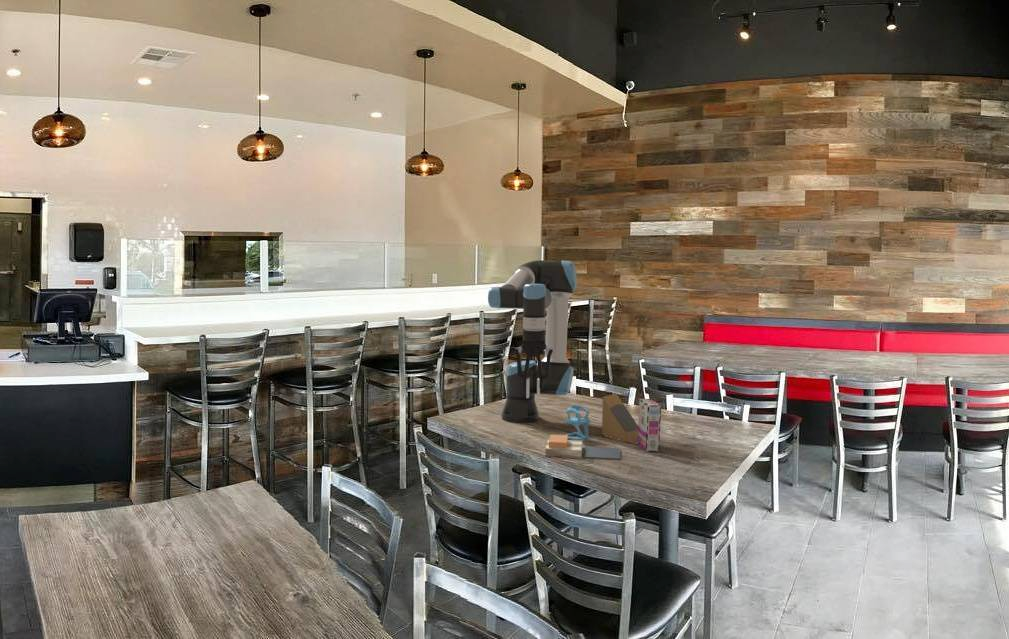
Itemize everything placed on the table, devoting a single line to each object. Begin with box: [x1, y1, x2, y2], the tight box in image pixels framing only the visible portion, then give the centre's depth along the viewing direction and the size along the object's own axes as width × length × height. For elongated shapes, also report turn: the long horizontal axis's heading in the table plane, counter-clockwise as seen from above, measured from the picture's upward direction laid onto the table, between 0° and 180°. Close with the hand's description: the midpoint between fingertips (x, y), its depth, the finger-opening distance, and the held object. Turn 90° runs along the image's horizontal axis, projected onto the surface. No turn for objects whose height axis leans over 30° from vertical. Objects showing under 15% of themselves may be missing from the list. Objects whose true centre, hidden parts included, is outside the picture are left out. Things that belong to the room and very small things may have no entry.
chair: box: [564, 405, 591, 442], centre depth 253 cm, size 8×8×12 cm
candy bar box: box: [637, 398, 662, 453], centre depth 242 cm, size 11×5×16 cm, turn 5°
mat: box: [583, 445, 622, 460], centre depth 236 cm, size 12×12×1 cm
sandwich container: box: [601, 393, 638, 444], centre depth 255 cm, size 9×15×15 cm, turn 44°
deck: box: [544, 438, 583, 459], centre depth 237 cm, size 12×12×2 cm
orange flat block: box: [548, 434, 569, 449], centre depth 237 cm, size 9×6×2 cm, turn 172°
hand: (533, 397), depth 237 cm, fingers open, 3 cm apart
